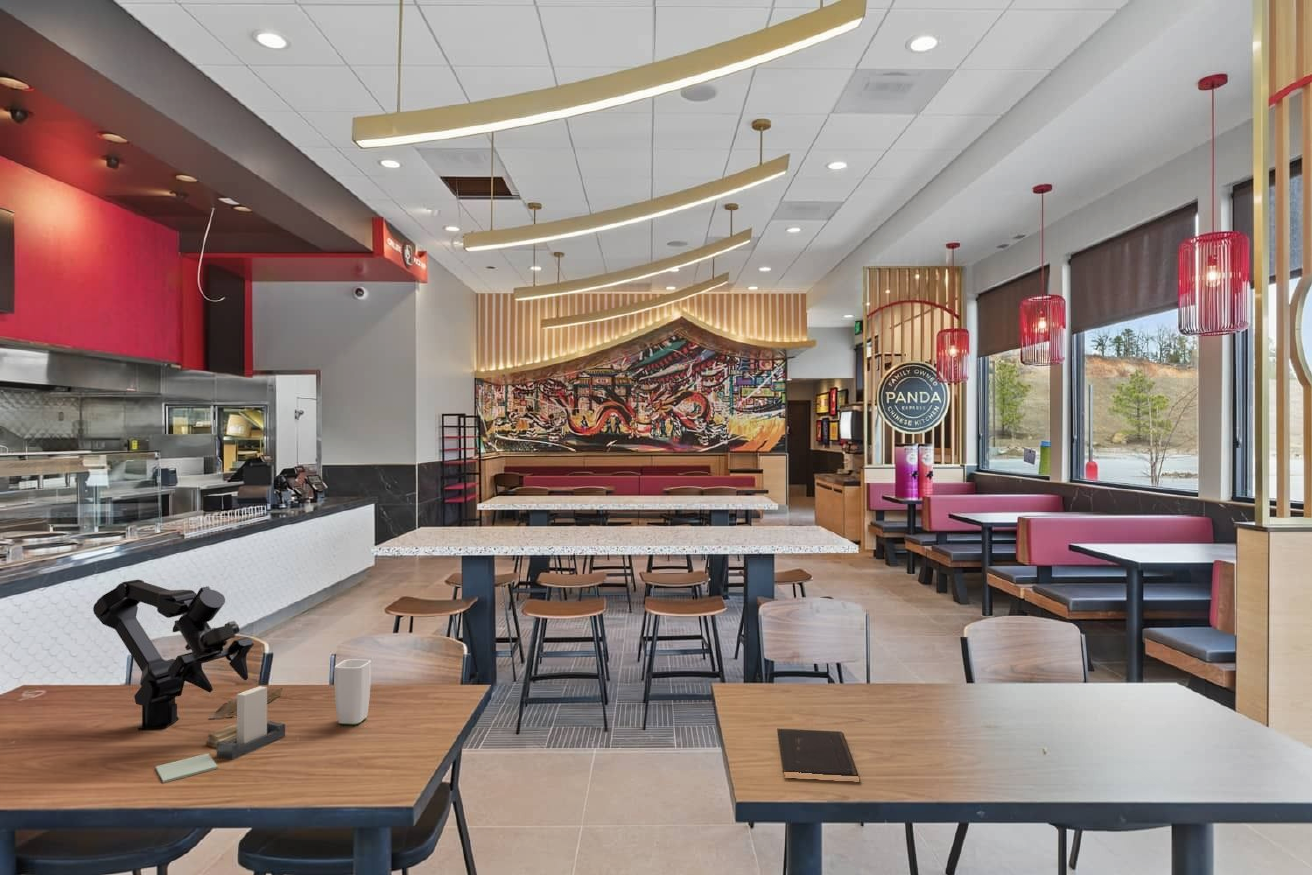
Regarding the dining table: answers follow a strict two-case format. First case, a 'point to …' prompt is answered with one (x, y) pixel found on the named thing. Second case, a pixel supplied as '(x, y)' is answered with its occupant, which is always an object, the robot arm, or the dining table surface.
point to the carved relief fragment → (231, 707)
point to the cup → (352, 690)
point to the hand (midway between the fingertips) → (229, 684)
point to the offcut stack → (222, 736)
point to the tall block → (251, 714)
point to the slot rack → (251, 742)
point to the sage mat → (186, 767)
